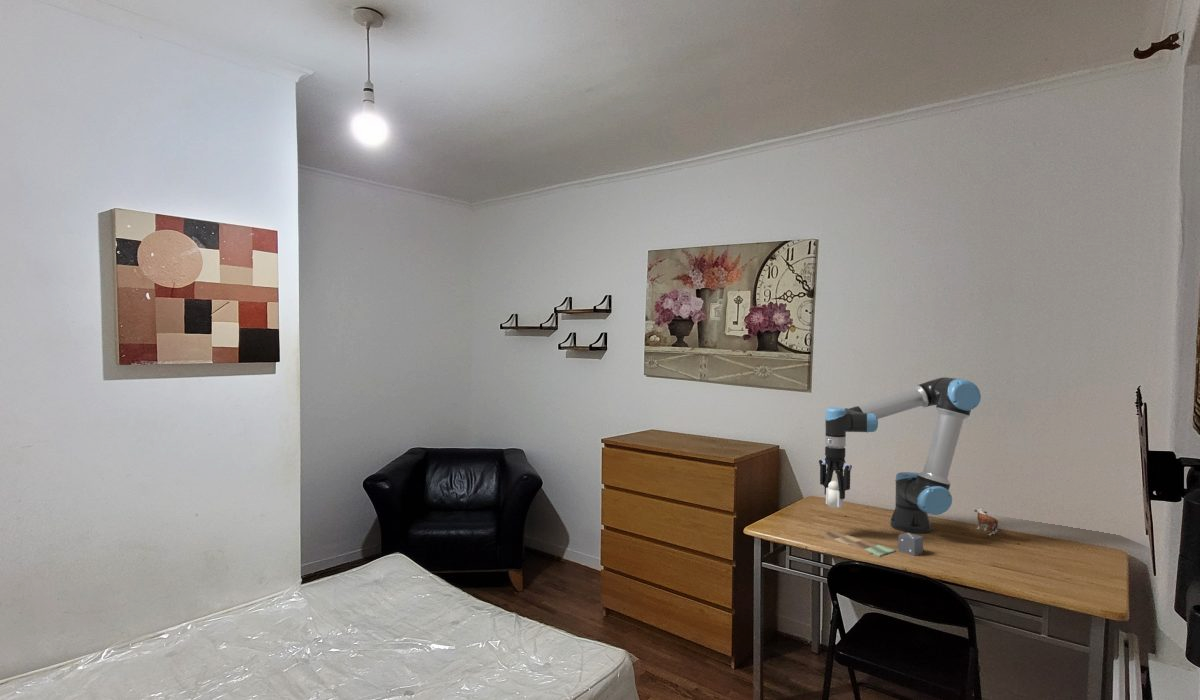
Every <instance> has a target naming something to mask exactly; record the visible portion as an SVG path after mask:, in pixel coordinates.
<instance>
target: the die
mask: <svg viewBox="0 0 1200 700" xmlns="http://www.w3.org/2000/svg"><path fill="white" fill-rule="evenodd" d="M897 541H898V544H897V545H898V547H897V551H898V552H900V553H902V554H903V553H904V554H908V555H910V556H913V557H916V556H917V555H921V554H923V553H924V536H922V535H918V534H916V533H915V534H914V533H912V532H904V533H902V534H901V533H900V534H898V539H897Z"/></svg>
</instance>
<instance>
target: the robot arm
mask: <svg viewBox="0 0 1200 700" xmlns="http://www.w3.org/2000/svg"><path fill="white" fill-rule="evenodd" d="M981 396H982V395H981V391H980V389H979V387H978V385H976V384H975V383H974V382H972V381H971V380H968V379H964V378H956V377H955V378H954V377H947V376H946V377H945V376H944V377H939V378H935V379H931V380H929V381H928V380H927V381H925V382H923V383H919V384H916V385H915V386H914V387H913V388H912V389H909V390H905V391H902V392H899V393H895V394H892V395H889V396H886V397H883V398H879V399H876V400H873V401H869V402H866V403H863V404H860V405H857V406H853V407H850V408H844V407H836V406H835V407H834V406H833V407H828V408H826V410H825V419H824V421H825V422H824V423H825V432H824V433H825V435H824V436H825V437H824V438H825V439H824V443H825V447H824V456H825V458H824V459H819V460H818V463H819V484H820V485H821V486H823V487H824V495H825V504H826V505H828V484H829V483H830V482H831V481H833V475H834V472H835V474H836V480H837V482H838V485H839V490H838V491H837V507H840V508H843V507H844V500H845V498H846V492H847V491H849V490H851V470H852V468H853V466H852V465H851V464H848V463H846V462H847V461H846V459H845V458H846V448H845V447H846V446H847V445H846V444H847V443H846V439H847V438H846V436H847V434H846V433H875V432H876V431H877V429H878V426H879V419H882V418H885V417H889V416H893V415H896V414H899V413H902V412H906V411H909V410H912V409H915V408H919V407H923V408H927V407H931V406H936V407H935V410H937V412H938V415H937V420H936V423H935V426H934V431H933V434H932V438H931V441H930V445H929V449H928V452H927V456H926V459H925V464H924V465H923V466H924V467H923V470H922V471H920V472H902V471H901V472H898V473H896V476H895V504H894V505H895V507H894V510H893V513H892V516H891V518H890V524H889V525H890V527H892V528H894V529H896V530H899V531H902V532H905V533H907V532H908V533H911V534H914V533H915V534H927V533H930V532H931V531H932V523H931V520H930V518H929V515H932V516H938V515H942V514H944V513H946V512H947V511H948V510H950V508H951V506H952V503H953V497H952V495H951V492H950V487H951V482H950V481H949V478H948V477H949V474H950V471H951V466H952V462H953V458H954V455H955V452H956V448H957V445H958V441H959V437H960V434H961V431H962V427H963V423H964V420H965V419H967V418H969V417H970V414H971V412H972V410H974V409H975V408H977V407H978V405H979V404H980V402H981V398H982V397H981Z"/></svg>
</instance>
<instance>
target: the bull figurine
mask: <svg viewBox="0 0 1200 700" xmlns="http://www.w3.org/2000/svg"><path fill="white" fill-rule="evenodd" d="M974 512H975V513H977V523H978V524H977V528H976V530H977V531H980V530H981V525H982V526H984V528H983V529H984V531H985V532H987V531H988V530H989V534H988V536H992V535H995V534H996V533H997V532H998V526H999V521H998V519H996V518H995V517H993V516H990V515H988V511H986V510H983V509H982V508H978V509H974Z"/></svg>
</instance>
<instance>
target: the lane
mask: <svg viewBox="0 0 1200 700" xmlns="http://www.w3.org/2000/svg"><path fill="white" fill-rule="evenodd" d="M818 536H821V537H824V538H827V539H830V540H832V541H836V542H839V543H842V544H845V545H848V546H851V547H854V548H857V549H859V550H862V551H866V552H869V553H870V554H871V555H874V556H877V557H883V556H887V555H889V554H893V553H895V552H896V549H894V548H891V547H887V546H883V545H881V544H877V543H874V542H872V541H869V540H865V539H862V538H859V537H856V536H852V535H850V534H847V533H843V532H839V531H836V530H832V531H828V532H824V533H821V534H818Z"/></svg>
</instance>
